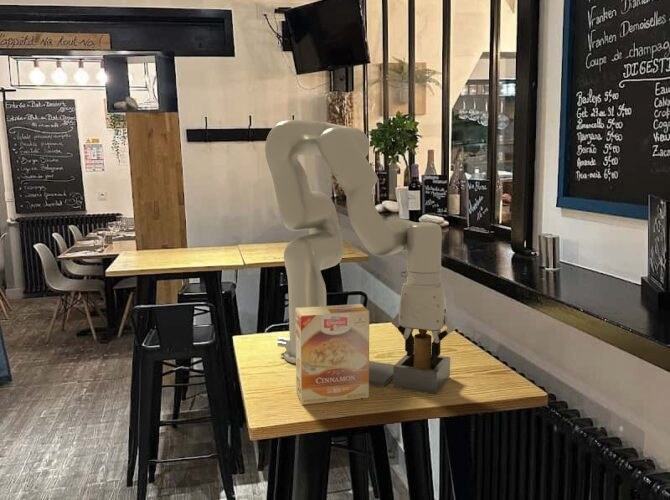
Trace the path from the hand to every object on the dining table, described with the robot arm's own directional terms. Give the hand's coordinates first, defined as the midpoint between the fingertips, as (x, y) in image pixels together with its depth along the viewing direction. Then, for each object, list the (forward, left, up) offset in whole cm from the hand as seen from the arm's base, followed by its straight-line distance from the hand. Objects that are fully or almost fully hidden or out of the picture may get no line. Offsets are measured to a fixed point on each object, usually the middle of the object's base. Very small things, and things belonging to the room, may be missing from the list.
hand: (422, 355), depth 142 cm
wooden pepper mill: (0, 0, -7) cm, 7 cm away
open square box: (0, 0, -6) cm, 6 cm away
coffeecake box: (-16, -15, -7) cm, 23 cm away
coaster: (-12, 0, -6) cm, 14 cm away
